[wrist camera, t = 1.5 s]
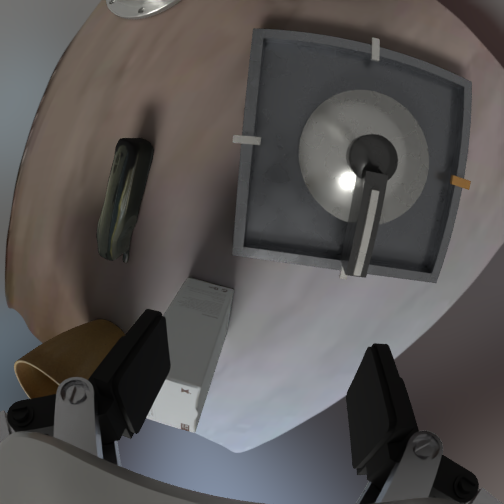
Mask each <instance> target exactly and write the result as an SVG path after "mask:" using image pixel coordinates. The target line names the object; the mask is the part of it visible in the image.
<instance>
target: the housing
mask: <svg viewBox="0 0 504 504" xmlns="http://www.w3.org/2000/svg"><path fill="white" fill-rule="evenodd" d="M351 90H370V91H375V92H378V93H382V94H384V95H387V96H389V97H391V98H393V99H394V100H396V101H397V102H399V103H400V104H401V105H403V106H404V107H405V108H406V109H407V110H408V111H409V112H410V113H411V114H412V115H413V117H414V118H415V119H416V121H417V122H418V124H419V126H420V127H421V129H422V131H423V134H424V136H425V139H426V143H427V146H428V153H429V170H428V176H427V180H426V183H425V186H424V188H423V190H422V192H421V194H420V196H419V198H418V199H417V200H416V202H415V203H414V204H413V205H412V206H411V208H410V209H408V210H407V211H406V212H405V213H404V214H402V215H401V216H399V217H398V218H396V219H394V220H391V221H389V222H386V223H383V224H379V226H378V231H377V235H376V239H375V244H374V248H373V252H372V256H371V260H370V263H369V267H368V271H367V274H372V275H379V276H387V277H394V278H402V279H409V280H417V281H425V282H432V283H436V282H437V279H438V276H439V274H440V271H441V268H442V265H443V262H444V258H445V255H446V252H447V249H448V245H449V242H450V238H451V234H452V231H453V227H454V223H455V219H456V215H457V210H458V206H459V201H460V196H461V191H462V188H465V189H468V190H469V188H470V182H471V181H469V180H466V179H464V175H465V168H466V161H467V154H468V145H469V135H470V123H471V102H472V82H471V81H469V80H467V79H465V78H463V77H461V76H458V75H456V74H454V73H452V72H450V71H447V70H445V69H442V68H440V67H438V66H435V65H433V64H430V63H427V62H425V61H422V60H419V59H417V58H414V57H411V56H408V55H405V54H402V53H399V52H395V51H392V50H389V49H385V48H382V47H380V39H377V38H373V37H372V38H371V45H370V44H366V43H362V42H358V41H353V40H348V39H343V38H338V37H333V36H327V35H320V34H314V33H306V32H297V31H287V30H274V29H253V36H252V44H251V53H250V62H249V72H248V81H247V91H246V101H245V111H244V121H243V132H242V136H241V135H233V143H241V154H240V165H239V176H238V188H237V201H236V213H235V226H234V239H233V253H232V255H235V256H242V257H249V258H256V259H263V260H270V261H277V262H285V263H292V264H299V265H306V266H313V267H321V268H328V269H335V270H341V271H340V275H339V278H340V279H347V276H348V275H345V272H344V269H343V266H342V264H341V261H340V257H341V253H342V248H343V244H344V239H345V234H346V229H347V224H348V222H346V221H343V220H341V219H339V218H337V217H335V216H333V215H332V214H330V213H329V212H328V211H326V210H325V209H324V208H323V207H322V206H321V205H320V204H319V203H318V202H317V201H316V200H315V199H314V197H313V196H312V194H311V193H310V191H309V190H308V188H307V186H306V184H305V182H304V179H303V176H302V173H301V169H300V164H299V155H298V153H299V142H300V137H301V134H302V131H303V128H304V126H305V124H306V122H307V120H308V119H309V117H310V116H311V114H312V113H313V112H314V111H315V110H316V108H317V107H318V106H319V105H321V104H322V103H323V102H324V101H326V100H327V99H329V98H331V97H332V96H334V95H337V94H339V93H342V92H346V91H351Z"/></svg>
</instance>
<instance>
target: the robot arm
mask: <svg viewBox="0 0 504 504" xmlns="http://www.w3.org/2000/svg"><path fill="white" fill-rule="evenodd" d="M180 1H181V0H106V3H107V6H108V8H109V9H110V11H111V12H112V13H114V14H115V15H117V16H119V17H121V18H125V19H142V18H147V17H150V16H153V15H156V14H158V13H161V12H163V11H165V10H167V9H169V8H170V7H172V6H174V5H175V4H177V3H178V2H180ZM170 368H171V363H170V355H169V346H168V336H167V326H166V318H165V317H164V316H162V313H161V312H159V311H155V310H150V309H146V310H145V311H144V313H143V314H142V315H141V316H140V317H139V319H138V320H137V321H136V322H135V324H134V325H133V326H132V328H131V329H130V330H129V331H128V333H127V334H126V335H125V336H122V337H121V338H120V339H119V340H118V341H117V343H116V344H115V345H114V346H113V348H112V349H111V350H110V351H109V353H108V354H107V355H106V357H105V358H104V359H103V360H102V362H101V363H100V364H99V366H98V367H97V368H96V370H95V371H94V372H93V374H92V375H91V376H90V378H89V379H88V380H87V379H85V378H82V377H71V378H68V379H66V380H64V381H63V382H62V383H61V384H60V385H59V386H58V389H57V392H56V394H53V395H48V396H43V397H38V398H32V399H27V400H21V401H18V402H15V403H14V404H13V405H12V406H11V407H10V408H9V410H8V413H5V411H1V412H0V504H264V503H254V502H248V501H240V500H235V499H229V498H223V497H218V496H213V495H209V494H204V493H200V492H196V491H192V490H188V489H184V488H180V487H177V486H174V485H170V484H167V483H164V482H161V481H158V480H155V479H151V478H149V477H146V476H143V475H141V474H138V473H135V472H133V471H130V470H128V469H125V468H123V467H121V462H120V456H119V450H118V443H117V440H120V438H121V436H122V435H123V436H125V437H128V438H130V439H131V438H132V436H133V434H134V433H136V434H137V433H138V432H139V431H140V429H141V427H142V425H143V423H144V421H145V419H146V417H147V415H148V413H149V411H150V409H151V407H152V405H153V403H154V401H155V399H156V397H157V395H158V393H159V391H160V389H161V388H162V386H163V384H164V382H165V380H166V378H167V376H168V374H169V372H170ZM346 402H347V411H348V419H349V430H350V440H351V452H352V465H353V468H357V475H365V474H367V480H369V482H368V484H367V486H366V488H365V489H364V491H363V493H362V494H361V496H360V498H359V499H358V501H357V503H356V504H503V503H501V502H500V501H499V500H498V499H496V498H495V497H494V496H492V495H491V494H490V493H489V492H487V491H486V490H485V489H484V488H481V489H478V485H479V484H478V480H477V478H476V476H475V475H474V474H473V473H472V472H470V471H468V470H467V469H465V468H463V467H462V466H460V465H458V464H457V463H455V462H453V461H452V460H450V459H449V458H447V457H446V456H444V455H442V453H443V445H442V442H441V440H440V438H439V437H438V436H437V435H436V434H434V433H432V432H429V431H419V430H418V427H417V423H416V420H415V416H414V413H413V409H412V406H411V403H410V400H409V396H408V393H407V390H406V387H405V384H404V381H403V379H402V378H400V377H399V374H398V371H397V368H396V365H395V362H394V359H393V356H392V353H391V351H390V348H389V346H388V345H387V344H373V345H372V347H368V348H367V350H366V352H365V355H364V357H363V359H362V362H361V364H360V366H359V368H358V370H357V373H356V375H355V377H354V379H353V381H352V383H351V385H350V387H349V389H348V392H347V395H346Z"/></svg>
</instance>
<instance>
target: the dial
mask: <svg viewBox="0 0 504 504" xmlns="http://www.w3.org/2000/svg"><path fill="white" fill-rule="evenodd" d="M298 155H299V164H300V169H301V173H302V176H303V179H304V182H305V184H306V186H307V188H308V190H309V191H310V193H311V194H312V196H313V197H314V199H315V200H316V201H317V202H318V203H319V204H320V205H321V206H322V207H323V208H324V209H325V210H326V211H328V212H329V213H330V214H332V215H333V216H335V217H337V218H339V219H341V220H343V221H346V222H348V224H347V229H346V234H345V239H344V244H343V248H342V253H341V257H340V261H341V264H342V266H343V269H344V272H345V275H350V276H358V277H365V278H366V275H367V271H368V267H369V263H370V260H371V256H372V252H373V248H374V244H375V239H376V235H377V231H378V226H379V224H383V223H386V222H389V221H391V220H394V219H396V218H398V217H399V216H401V215H402V214H404V213H405V212H406V211H407V210H408V209H410V208H411V206H412V205H413V204H414V203H415V202H416V200H417V199H418V198H419V196H420V194H421V192H422V190H423V188H424V186H425V183H426V180H427V176H428V170H429V153H428V146H427V143H426V139H425V136H424V134H423V131H422V129H421V127H420V126H419V124H418V122H417V121H416V119H415V118H414V117H413V115H412V114H411V113H410V112H409V111H408V110H407V109H406V108H405V107H404V106H403V105H401V104H400V103H399V102H397V101H396V100H394V99H393V98H391V97H389V96H387V95H384V94H382V93H378V92H375V91H370V90H351V91H346V92H342V93H339V94H337V95H334V96H332V97H331V98H329V99H327V100H326V101H324V102H323V103H322V104H321V105H319V106H318V107H317V108H316V110H315V111H314V112H313V113H312V114H311V116H310V117H309V119H308V120H307V122H306V124H305V126H304V128H303V131H302V134H301V137H300V142H299V153H298Z"/></svg>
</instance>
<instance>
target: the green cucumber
mask: <svg viewBox="0 0 504 504" xmlns="http://www.w3.org/2000/svg"><path fill="white" fill-rule="evenodd" d="M153 151H154V150H153V146H152V144H151V143H150V142H149V141H147V140H144V139H142V138H122V139H120V140H119V141H118V143H117V145H116V149H115V155H114V160H113V164H112V168H111V173H110V177H109V180H108V185H107V191H106V196H105V201H104V205H103V208H102V212H101V216H100V219H99V222H98V227H97V242H98V252H99V255H100V256H101V257H103V258H105V259H107V260H111V261H113V260H115V259H117V258H118V257H119V256H121V255H122V254H123V262H124V263H127V262H128V255H129V246H130V239H131V235H132V231H133V229H134V227H135V225H136V222H137V217H138V212H139V207H140V203H141V200H142V196H143V193H144V189H145V185H146V181H147V177H148V173H149V170H150V166H151V163H152V158H153Z"/></svg>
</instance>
